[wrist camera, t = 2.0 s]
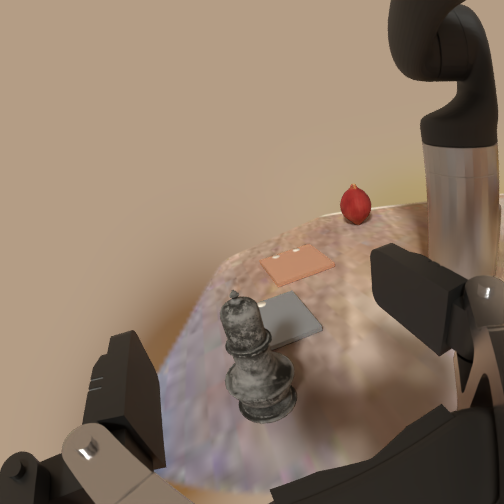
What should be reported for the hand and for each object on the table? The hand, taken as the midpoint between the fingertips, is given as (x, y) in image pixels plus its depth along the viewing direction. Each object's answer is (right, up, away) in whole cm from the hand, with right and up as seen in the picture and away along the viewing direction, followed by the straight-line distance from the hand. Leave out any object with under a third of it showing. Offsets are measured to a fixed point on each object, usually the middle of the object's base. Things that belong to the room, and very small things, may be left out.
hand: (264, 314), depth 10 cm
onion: (+20, +7, +48) cm, 53 cm away
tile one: (+2, -7, +27) cm, 28 cm away
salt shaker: (+1, -12, +17) cm, 20 cm away
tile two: (+6, 0, +40) cm, 40 cm away
